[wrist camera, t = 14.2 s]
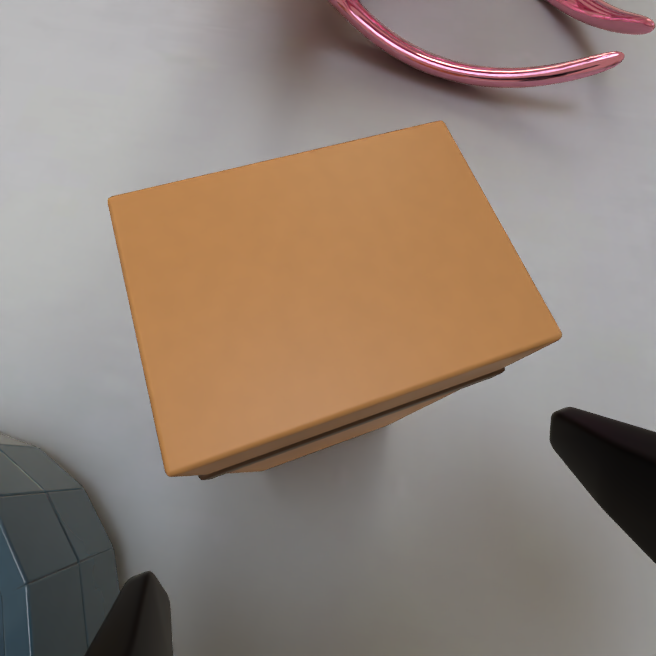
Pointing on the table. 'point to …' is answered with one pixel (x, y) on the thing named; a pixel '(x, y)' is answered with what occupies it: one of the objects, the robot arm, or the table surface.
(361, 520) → the table surface
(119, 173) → the table surface
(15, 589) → the bowl
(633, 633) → the table surface
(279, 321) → the case
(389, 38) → the pink openwork ball
